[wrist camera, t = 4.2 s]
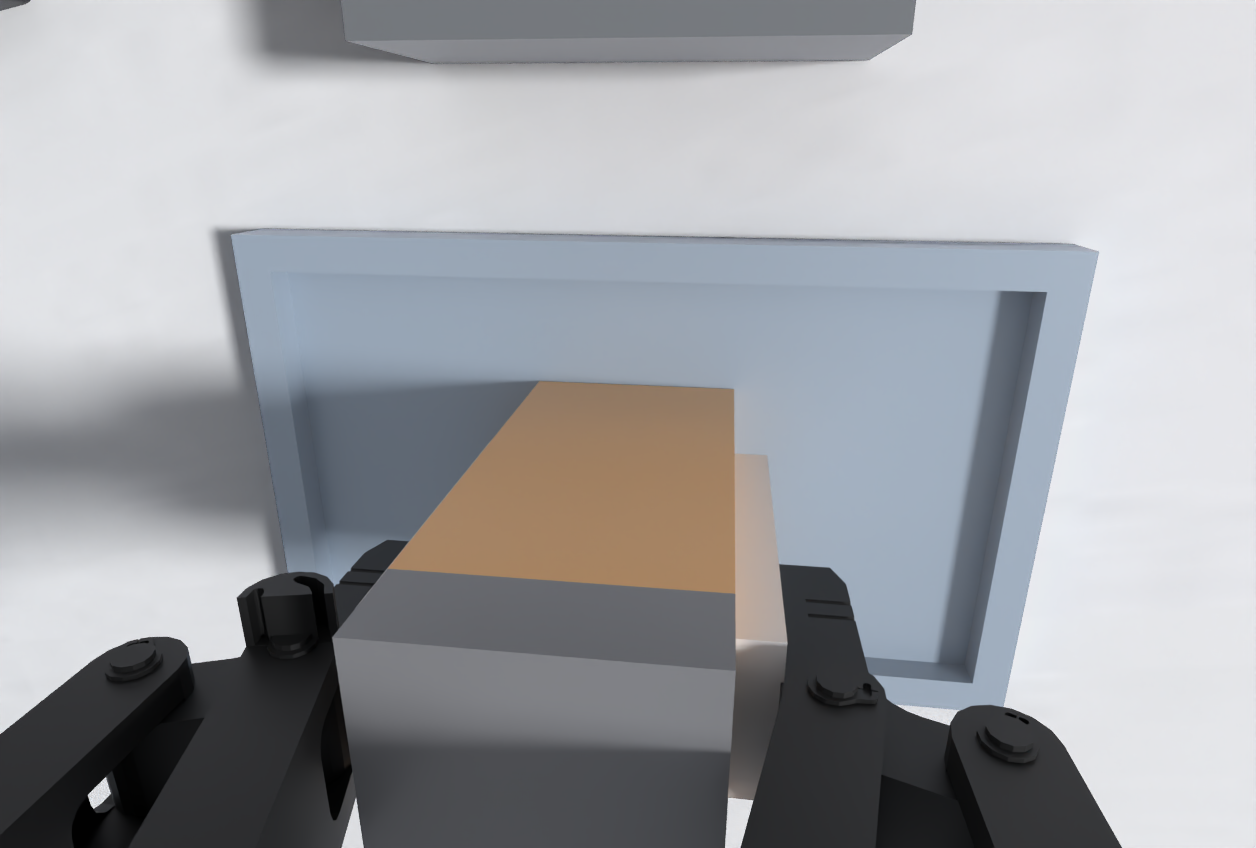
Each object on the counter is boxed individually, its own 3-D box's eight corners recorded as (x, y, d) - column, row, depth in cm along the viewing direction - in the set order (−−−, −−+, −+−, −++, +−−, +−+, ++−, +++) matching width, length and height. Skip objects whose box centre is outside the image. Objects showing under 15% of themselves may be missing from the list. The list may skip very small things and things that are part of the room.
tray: (323, 626, 22) (301, 652, 21) (261, 228, 18) (230, 234, 17) (986, 681, 20) (1001, 713, 19) (1073, 244, 16) (1098, 251, 15)
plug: (545, 551, 20) (374, 924, 10) (539, 381, 18) (331, 637, 9) (724, 563, 19) (717, 968, 10) (734, 389, 17) (736, 671, 8)
